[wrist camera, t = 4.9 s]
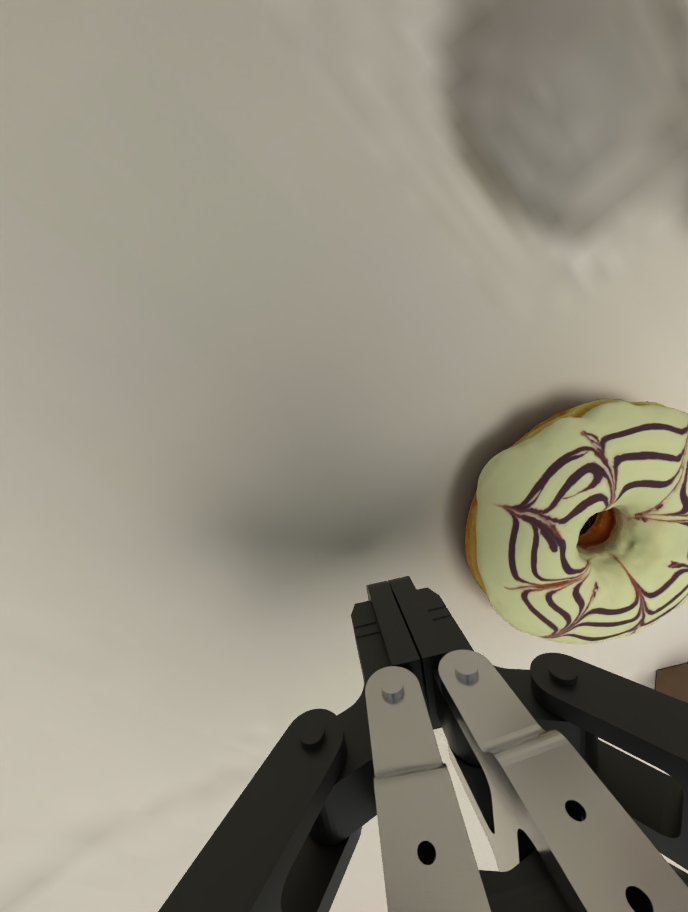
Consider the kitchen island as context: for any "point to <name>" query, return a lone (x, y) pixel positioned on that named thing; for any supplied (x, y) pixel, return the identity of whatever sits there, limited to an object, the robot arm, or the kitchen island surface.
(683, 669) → the posts
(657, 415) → the decorated donut
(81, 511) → the kitchen island surface
